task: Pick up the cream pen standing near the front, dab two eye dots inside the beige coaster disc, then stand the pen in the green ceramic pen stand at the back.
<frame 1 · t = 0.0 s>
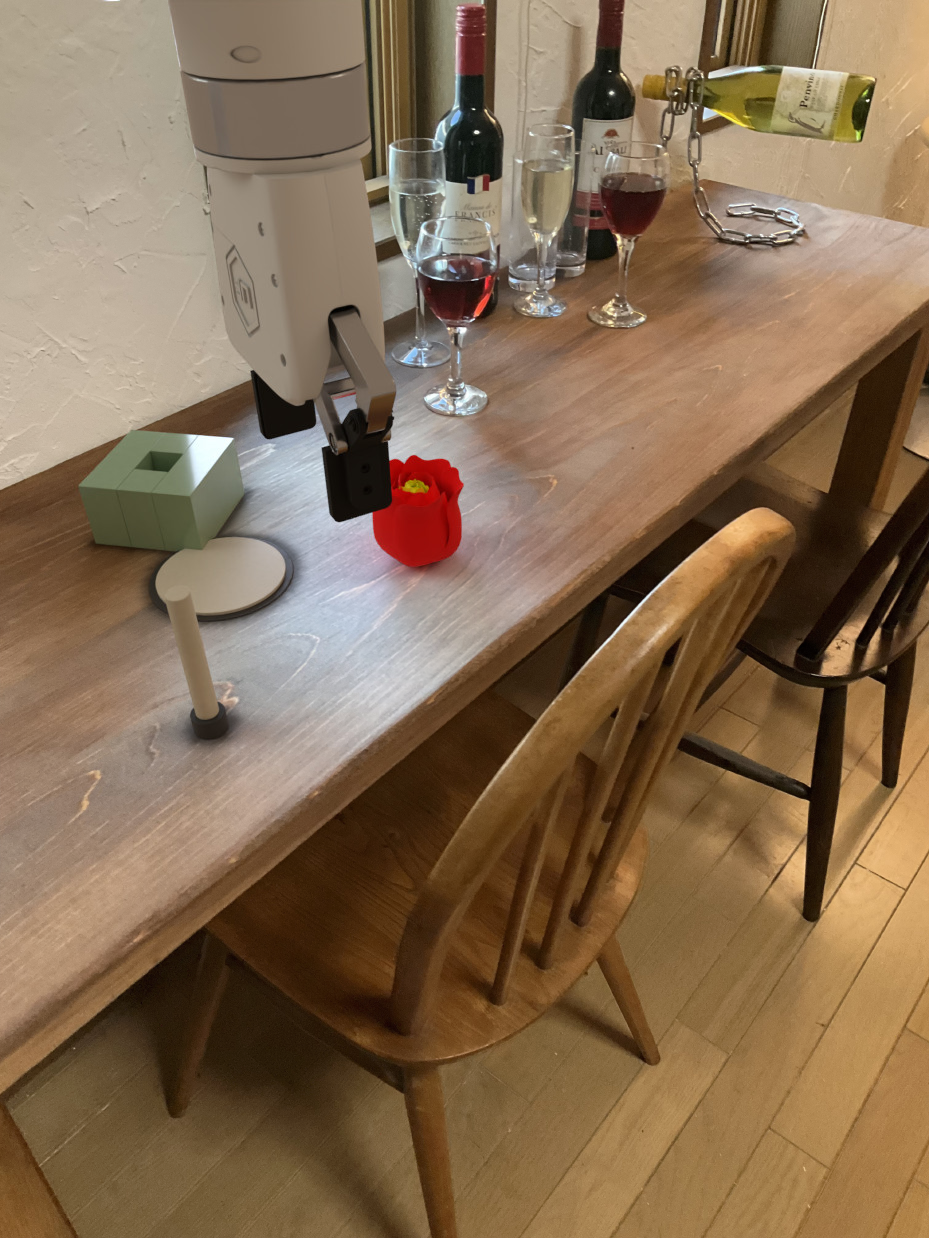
hand: (323, 469, 51), 22 cm above the table, tool pointing down, fingers open, 9 cm apart
beige coaster disc: (222, 577, 81), on the table
flower: (421, 557, 84), on the table
pen: (211, 728, 67), on the table
pen stand: (172, 518, 89), on the table
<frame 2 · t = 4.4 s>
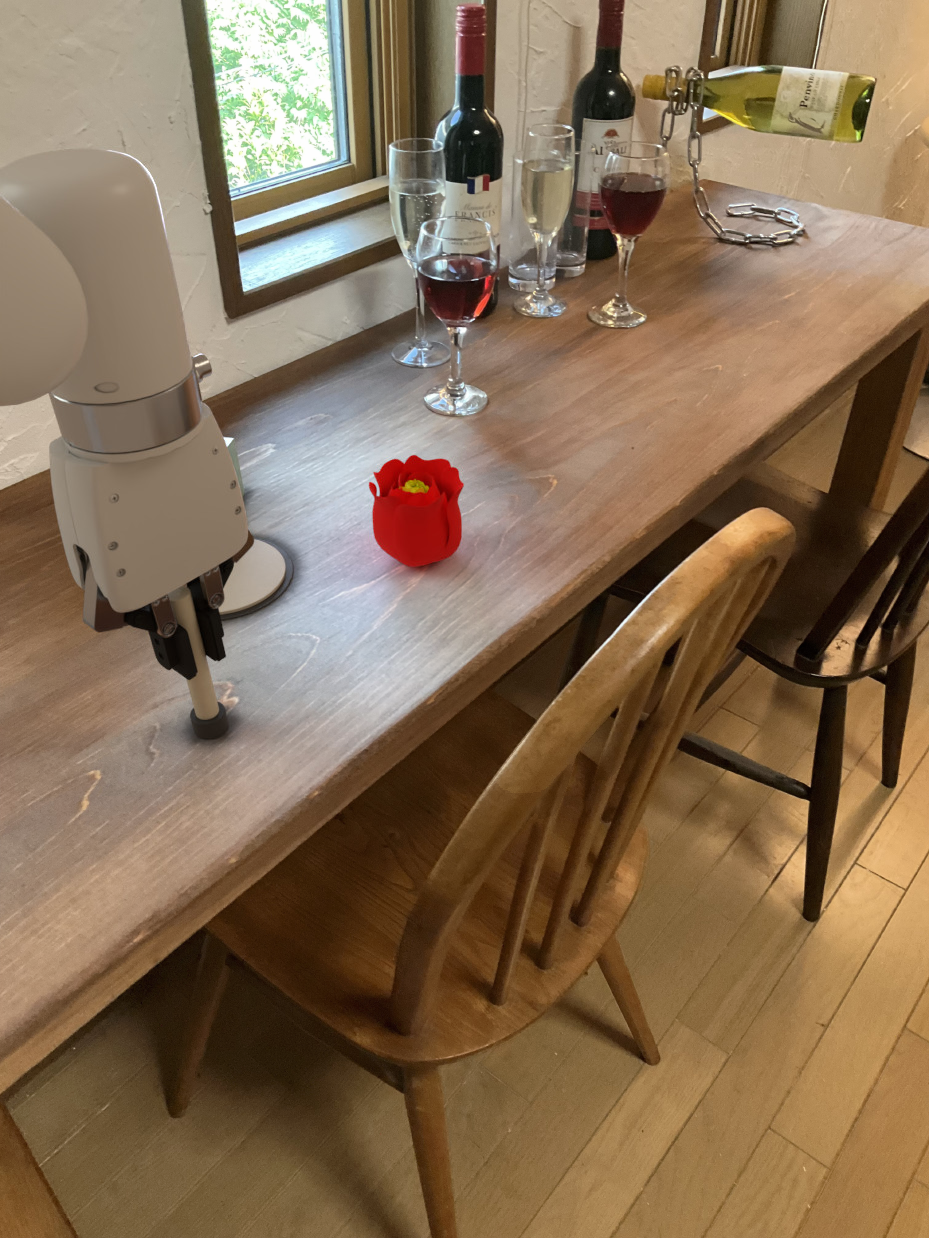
hand: (193, 658, 63), 7 cm above the table, tool pointing down, fingers closed on pen, 1 cm apart
pen: (211, 728, 67), on the table, touching gripper
everything else where it was.
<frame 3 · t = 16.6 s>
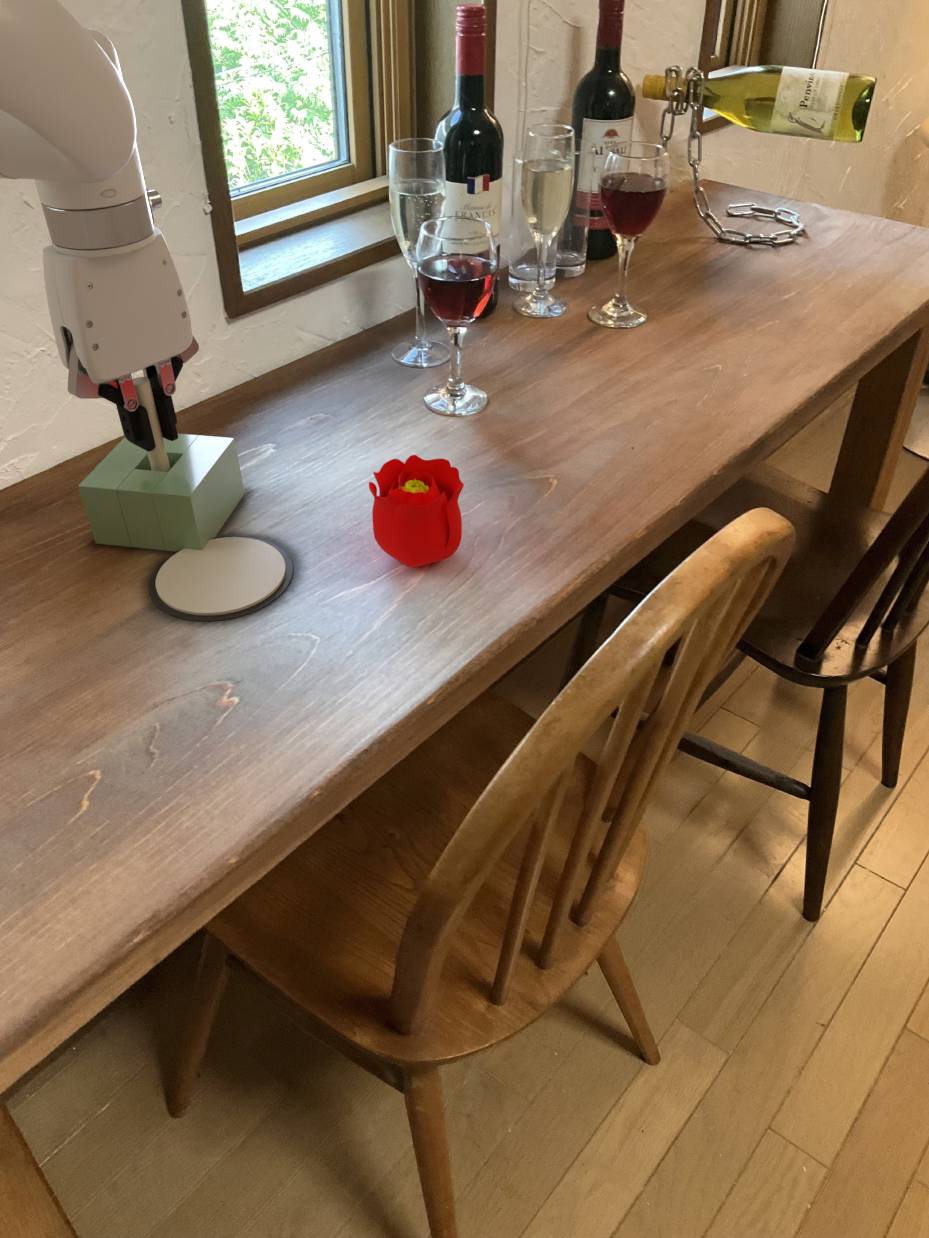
hand: (153, 439, 83), 8 cm above the table, tool pointing down, fingers closed on pen, 1 cm apart
pen: (169, 503, 88), point 2 cm above the table, touching gripper
everything else where it was.
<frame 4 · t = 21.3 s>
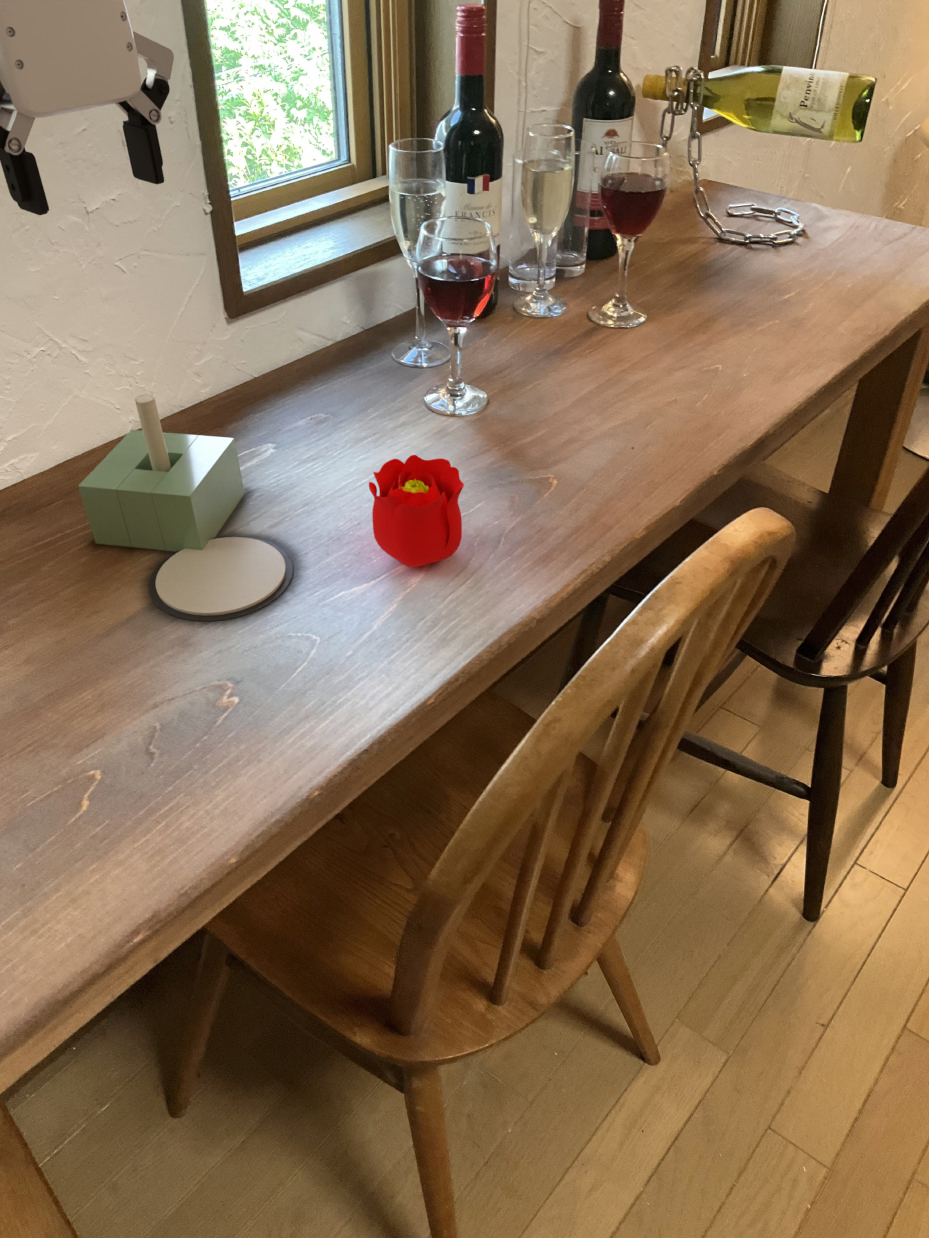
hand: (94, 195, 71), 28 cm above the table, tool pointing down, fingers open, 9 cm apart
pen: (173, 517, 89), resting in pen stand
everything else where it was.
at the end: pen 0.1 cm off-centre in the pen stand, point 0.0 cm above the pen stand's base; pen tilted 0°; the gripper is holding nothing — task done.
